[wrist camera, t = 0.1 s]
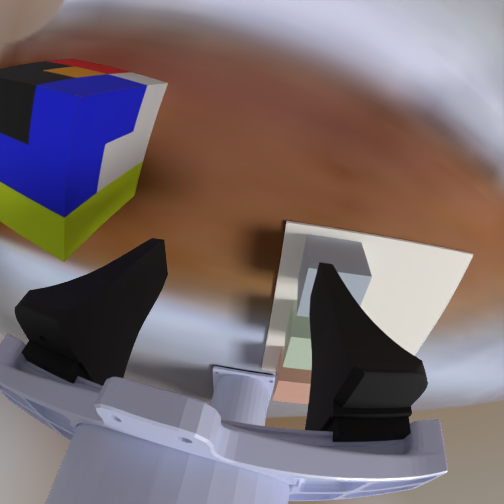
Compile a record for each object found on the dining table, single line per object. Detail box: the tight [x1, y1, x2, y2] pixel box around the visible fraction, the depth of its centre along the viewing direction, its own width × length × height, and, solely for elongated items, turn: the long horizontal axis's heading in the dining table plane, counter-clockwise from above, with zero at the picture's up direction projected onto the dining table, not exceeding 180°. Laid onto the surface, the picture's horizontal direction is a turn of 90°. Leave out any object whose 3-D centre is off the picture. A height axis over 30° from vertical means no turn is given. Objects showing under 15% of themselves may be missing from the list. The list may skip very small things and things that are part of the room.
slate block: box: [297, 234, 372, 317], centre depth 22 cm, size 4×4×4 cm
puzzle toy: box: [0, 59, 168, 262], centre depth 16 cm, size 10×10×10 cm
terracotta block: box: [273, 346, 311, 404], centre depth 30 cm, size 4×4×4 cm
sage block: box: [283, 300, 312, 370], centre depth 26 cm, size 4×4×4 cm
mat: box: [261, 221, 473, 372], centre depth 28 cm, size 20×18×1 cm
